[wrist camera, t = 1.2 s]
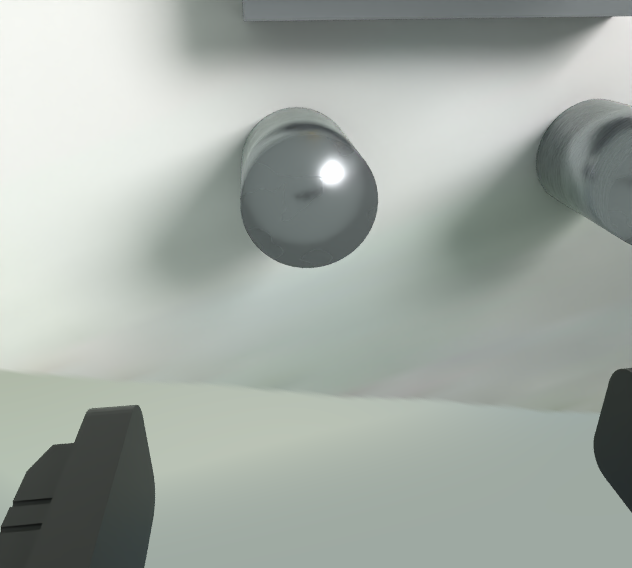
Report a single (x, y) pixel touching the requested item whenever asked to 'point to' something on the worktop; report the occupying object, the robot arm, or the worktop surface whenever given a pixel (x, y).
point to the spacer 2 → (591, 163)
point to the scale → (428, 9)
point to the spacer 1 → (305, 189)
